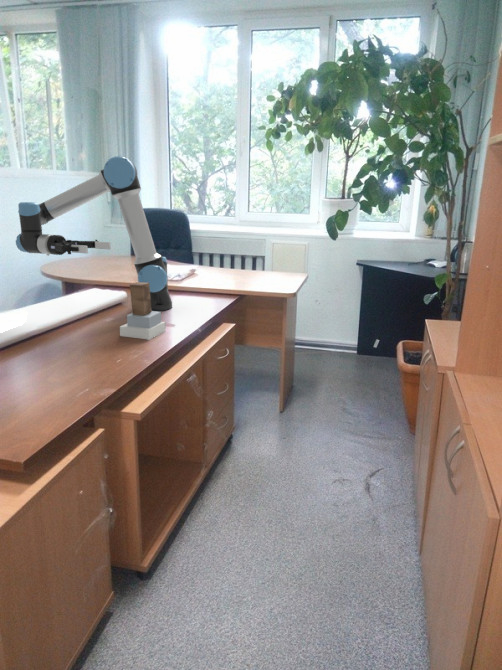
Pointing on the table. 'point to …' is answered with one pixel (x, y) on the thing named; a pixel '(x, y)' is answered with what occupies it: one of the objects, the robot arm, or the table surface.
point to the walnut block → (140, 298)
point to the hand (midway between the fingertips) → (98, 247)
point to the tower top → (144, 320)
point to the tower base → (142, 331)
